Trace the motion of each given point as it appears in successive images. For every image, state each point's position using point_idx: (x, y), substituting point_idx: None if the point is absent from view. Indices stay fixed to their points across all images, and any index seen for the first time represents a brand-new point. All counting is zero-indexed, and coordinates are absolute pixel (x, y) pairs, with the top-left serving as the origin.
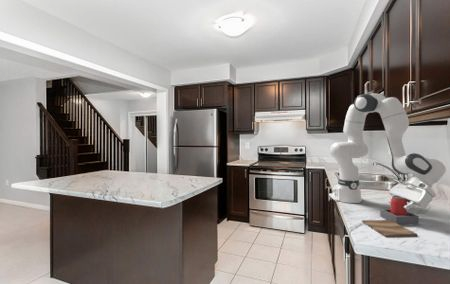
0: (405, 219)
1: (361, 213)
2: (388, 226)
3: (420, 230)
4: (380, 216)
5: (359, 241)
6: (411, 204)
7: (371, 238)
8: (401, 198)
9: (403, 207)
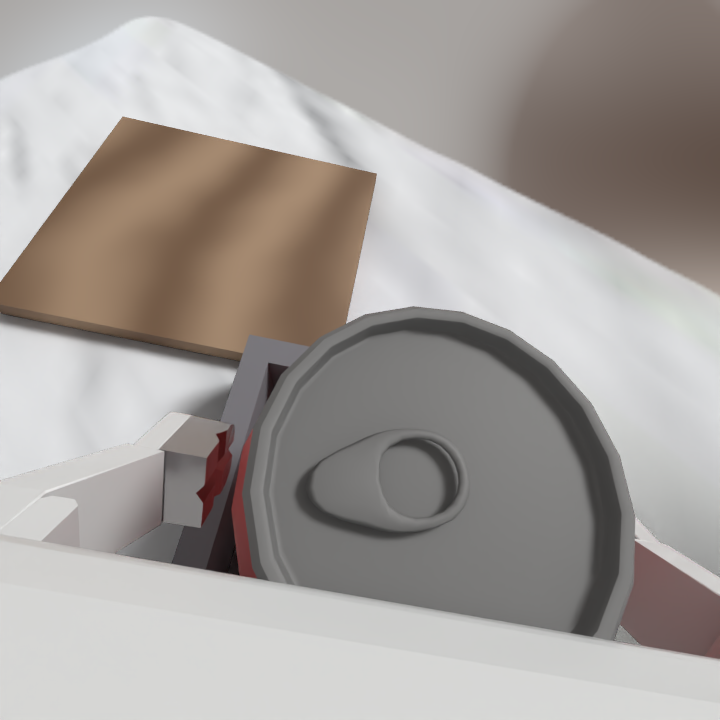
0: None
1: (565, 321)
2: (215, 235)
3: None
4: None
5: (156, 19)
6: (28, 491)
7: (153, 71)
8: (282, 390)
9: (224, 422)
